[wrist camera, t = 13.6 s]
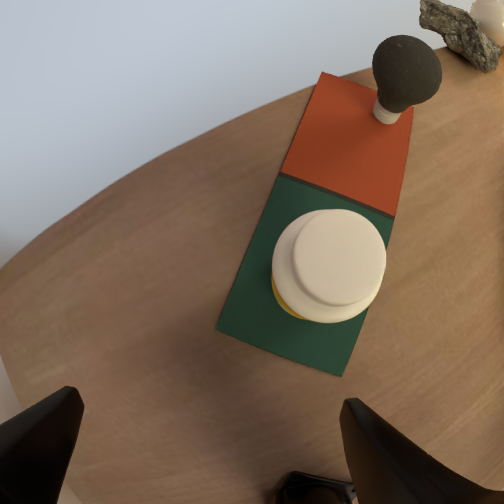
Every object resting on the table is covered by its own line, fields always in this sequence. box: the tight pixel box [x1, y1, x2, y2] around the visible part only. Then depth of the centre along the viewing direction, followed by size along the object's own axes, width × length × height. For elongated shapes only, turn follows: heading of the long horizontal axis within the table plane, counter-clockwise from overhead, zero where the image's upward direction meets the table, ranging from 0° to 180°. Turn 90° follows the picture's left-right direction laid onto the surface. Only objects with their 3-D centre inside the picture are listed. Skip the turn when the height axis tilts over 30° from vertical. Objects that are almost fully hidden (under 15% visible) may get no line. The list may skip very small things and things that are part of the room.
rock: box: [419, 0, 502, 72], centre depth 23 cm, size 13×13×10 cm
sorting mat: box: [216, 72, 414, 377], centre depth 23 cm, size 10×26×1 cm, turn 158°
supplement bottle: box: [271, 209, 386, 323], centre depth 16 cm, size 6×6×10 cm
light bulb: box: [372, 35, 442, 124], centre depth 19 cm, size 6×6×10 cm
